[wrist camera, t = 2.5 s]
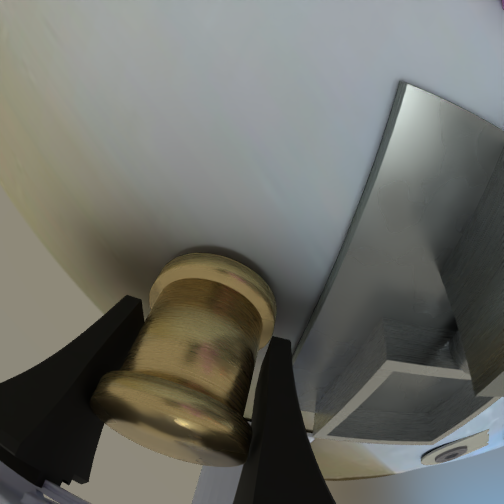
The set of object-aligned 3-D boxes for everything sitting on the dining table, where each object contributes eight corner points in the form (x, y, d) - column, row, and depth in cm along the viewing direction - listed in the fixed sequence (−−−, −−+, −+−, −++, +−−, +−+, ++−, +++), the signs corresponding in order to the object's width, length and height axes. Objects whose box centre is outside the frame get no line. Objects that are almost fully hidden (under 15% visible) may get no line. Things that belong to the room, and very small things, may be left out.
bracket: (416, 448, 22) (417, 480, 20) (512, 414, 18) (518, 446, 15) (425, 461, 25) (425, 487, 22) (507, 433, 20) (511, 460, 18)
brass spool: (263, 351, 14) (236, 474, 9) (160, 323, 14) (109, 433, 10) (290, 273, 11) (262, 439, 6) (155, 238, 11) (68, 373, 7)
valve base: (447, 414, 17) (452, 497, 12) (273, 393, 18) (252, 496, 12) (617, 208, 6) (688, 307, 1) (405, 61, 7) (575, 121, 1)
